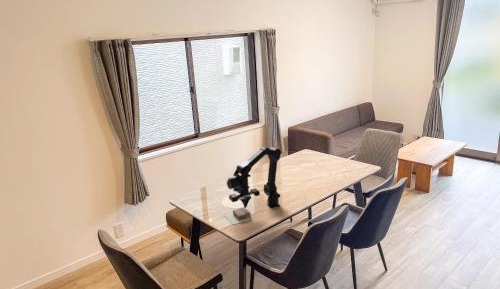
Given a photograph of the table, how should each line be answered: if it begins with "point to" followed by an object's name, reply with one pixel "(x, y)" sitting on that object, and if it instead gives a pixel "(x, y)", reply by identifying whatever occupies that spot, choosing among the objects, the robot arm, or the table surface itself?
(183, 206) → the table surface
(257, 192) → the robot arm
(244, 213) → the grey brown stone slab
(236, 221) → the mat
